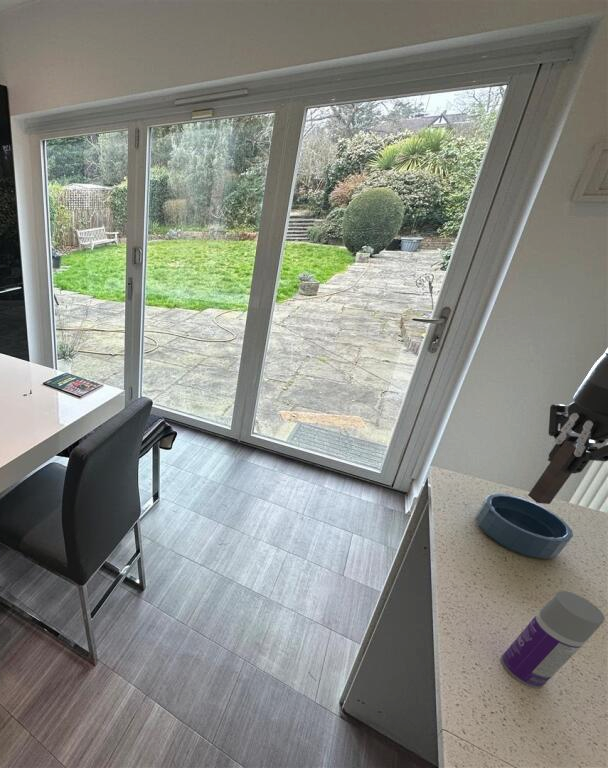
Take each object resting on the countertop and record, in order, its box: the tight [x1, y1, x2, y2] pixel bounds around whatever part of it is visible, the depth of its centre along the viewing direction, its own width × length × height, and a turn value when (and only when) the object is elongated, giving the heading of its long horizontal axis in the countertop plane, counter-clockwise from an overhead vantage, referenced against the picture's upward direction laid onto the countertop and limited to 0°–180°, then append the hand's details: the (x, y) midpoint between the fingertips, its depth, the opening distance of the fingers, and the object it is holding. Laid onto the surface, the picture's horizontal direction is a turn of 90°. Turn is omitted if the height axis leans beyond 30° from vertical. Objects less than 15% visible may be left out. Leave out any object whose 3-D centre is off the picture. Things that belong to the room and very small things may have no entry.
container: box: [500, 590, 606, 689], centre depth 57 cm, size 5×5×15 cm
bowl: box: [475, 492, 574, 560], centre depth 82 cm, size 13×13×6 cm
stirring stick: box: [527, 441, 588, 505], centre depth 76 cm, size 2×2×13 cm
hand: (561, 466), depth 75 cm, fingers closed on stirring stick, 2 cm apart
